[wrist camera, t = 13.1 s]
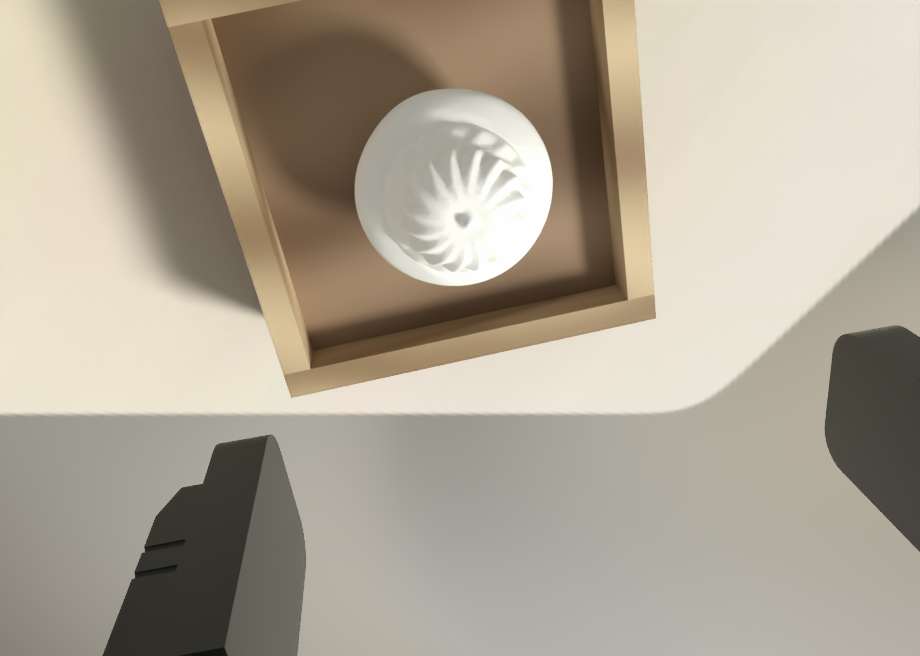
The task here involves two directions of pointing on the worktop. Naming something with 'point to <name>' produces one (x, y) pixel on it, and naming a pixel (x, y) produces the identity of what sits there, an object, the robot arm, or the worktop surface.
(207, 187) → the worktop surface
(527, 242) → the white ribbed cup
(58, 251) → the worktop surface
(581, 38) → the wooden tray
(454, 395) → the worktop surface
